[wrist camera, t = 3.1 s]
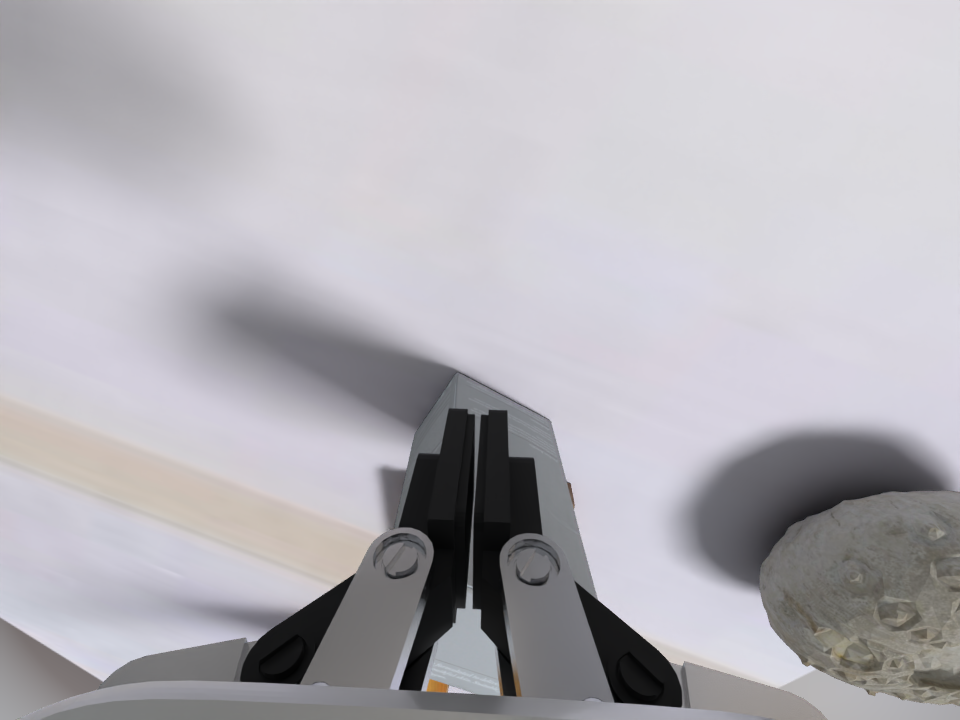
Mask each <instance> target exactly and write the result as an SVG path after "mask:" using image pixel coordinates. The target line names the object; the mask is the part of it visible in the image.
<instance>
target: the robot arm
mask: <svg viewBox="0 0 960 720" xmlns="http://www.w3.org/2000/svg"><path fill="white" fill-rule="evenodd" d="M474 473H475V414H468V409H458V408H449V410H448V414H447V419H446V424H445V430H444V435H443V440H442V445H441V450H440V454H431V453H419V454H418V456H417V459H416V463H415V467H414V471H413V474H412V478H411V482H410V486H409V490H408V493H407V497H406V501H405V505H404V508H403V512H402V516H401V520H400V523H399V527H398V528H397V529H392V530H390V531H388V532H385V533H383V534H382V535H380V536H379V537H378V538H377V539H376V540H374V541H373V543H372V544H371V546H370V547H369V549H368V550H367V552H366V554H365V556H364V558H363V560H362V562H361V564H360V566H359V568H358V570H357V572H356V573H355V574H354V575H352V576H351V577H349V578H348V579H346V580H345V581H343V582H342V583H340V584H339V585H337V586H336V587H334V588H333V589H331V590H330V591H328V592H327V593H325V594H324V595H322V596H321V597H319V598H318V599H316V600H315V601H313V602H312V603H310V604H309V605H307V606H306V607H304V608H303V609H301V610H300V611H298V612H297V613H295V614H294V615H292V616H291V617H289V618H288V619H286V620H285V621H283V622H282V623H280V624H279V625H277V626H276V627H274V628H273V629H271V630H270V631H268V632H267V633H266V634H265V635H264V636H262V637H261V638H260V639H259V640H258V641H253V642H247V640H246V638H240V639H235V640H229V641H224V642H219V643H213V644H208V645H202V646H197V647H192V648H186V649H181V650H175V651H170V652H165V653H159V654H154V655H148V656H144V657H141V658H138V659H136V660H133V661H130V662H129V663H127V664H125V665H124V666H122V667H121V668H119V669H117V670H116V671H115V672H114V673H112V674H111V675H110V676H109V677H108V678H107V679H106V680H105V681H104V682H103V683H102V684H101V685H100V686H99V688H98V689H97V690H95V691H92V692H88V693H84V694H81V695H77V696H74V697H71V698H68V699H65V700H62V701H59V702H57V703H54V704H51V705H48V706H45V707H44V708H41V709H38V710H36V711H34V712H31V713H29V714H27V715H25V716H22V717H20V718H18V719H17V720H827V719H826V718H825V716H824V715H823V714H822V713H821V712H820V711H819V710H818V709H817V708H815V707H814V706H813V705H811V704H810V703H809V702H808V701H806V700H805V699H803V698H801V697H799V696H797V695H794V694H792V693H790V692H787V691H784V690H780V689H777V688H774V687H770V686H767V685H764V684H760V683H757V682H753V681H750V680H747V679H743V678H740V677H736V676H733V675H730V674H726V673H723V672H719V671H716V670H713V669H709V668H706V667H702V666H699V665H696V664H692V663H689V662H684V664H683V666H680V665H677V664H674V663H670V662H669V661H668V660H667V659H666V658H665V657H664V656H663V655H662V654H661V653H660V652H659V651H658V650H657V649H656V648H655V647H653V646H652V645H651V644H650V643H649V642H647V641H646V640H645V639H644V638H643V637H641V636H640V635H639V634H638V633H637V632H635V631H634V630H633V629H632V628H631V627H629V626H628V625H627V624H626V623H625V622H623V621H622V620H621V619H620V618H619V617H618V616H616V615H615V614H614V613H613V612H612V611H610V610H609V609H608V608H607V607H606V606H604V605H603V604H602V603H601V602H600V601H598V600H597V599H596V598H595V597H594V596H592V595H591V594H590V593H589V592H588V591H586V590H585V589H584V588H583V587H582V586H580V585H579V584H578V583H577V582H576V581H574V579H573V576H572V573H571V570H570V567H569V564H568V561H567V558H566V556H565V554H564V552H563V550H562V549H561V548H560V547H559V546H558V545H557V544H556V542H554V541H553V540H551V539H549V538H548V537H546V536H543V533H542V524H541V515H540V506H539V497H538V488H537V479H536V469H535V461H534V458H532V457H509V447H508V412H507V410H489V412H488V415H484V414H481V421H480V435H479V449H478V463H477V477H476V491H475V505H474V523H473V609H479V610H481V630H482V631H483V632H484V633H485V634H486V635H487V636H488V637H489V639H490V640H491V641H492V642H493V643H494V644H495V657H496V665H497V672H498V680H499V688H500V696H496V695H479V694H462V693H445V692H427V691H426V690H427V686H428V683H429V679H430V675H431V671H432V668H433V664H434V660H435V656H436V653H437V648H438V640H439V639H440V638H441V637H442V636H443V635H444V634H445V633H446V632H448V631H449V630H450V629H451V628H452V627H453V623H456V614H457V608H459V609H465V608H466V596H467V582H468V569H469V556H470V542H471V529H472V515H473V502H474Z"/></svg>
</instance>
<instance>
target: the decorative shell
mask: <svg viewBox="0 0 960 720" xmlns="http://www.w3.org/2000/svg"><path fill="white" fill-rule="evenodd" d="M759 580H760V585H759V589H760V593H761V597H762V602H763V606H764V608H765V610H766V612H767V615H768V619H769V622H770V625H771V627H772V628H773V630H774V631H775V632H776V634H777V635H778V636H779V637H780V638H781V639H782V640H783V642H784V643H785V644H786V645H787V646H789V647H790V649H792V650H793V651H794V652H795V653H796V654H797V655H798V656H799V658H800V659H801V661H802V664H804V665H805V666H807V667H808V666H809V665H811V666H813V667H815V668H816V669H818V670H820V671H822V672H824V673H826V674H828V675H830V676H832V677H834V678H836V679H839V680H841V681H844V682H846V683H849V684H851V685H854V686H857V687H859V688H864V689H865V690H866V691H867V692H868V694H869V695H873V696H875V693H878V692H882V693H886V694H888V695H892V696H895V697H898V698H900V699H902V700H909V701H914V702H920V703H931V704H938V705H944V704H955V705H958V706H960V492H954V491H910V492H895V491H891V492H885V493H881V494H879V495H873V496H869V497H865V498H861V499H855V500H843V501H842V502H841V503H839V504H838V505H836V506H835V507H833V508H831V509H828V510H826V511H823V512H821V513H819V514H816V515H812V516H807V517H806V519H805V520H802V521H798V522H796V523H794V524H793V525H791V526H790V527H788V529H787V531H786V533H785V535H784V536H783V537H782V538H781V539H780V540H779V541H778V542H777V544H775V545H774V547H773V548H772V550H771V553H770V554H769V556H768V557H767V558H766V559H765V560H764V561H763V563H762V566H761V568H760V577H759Z"/></svg>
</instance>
